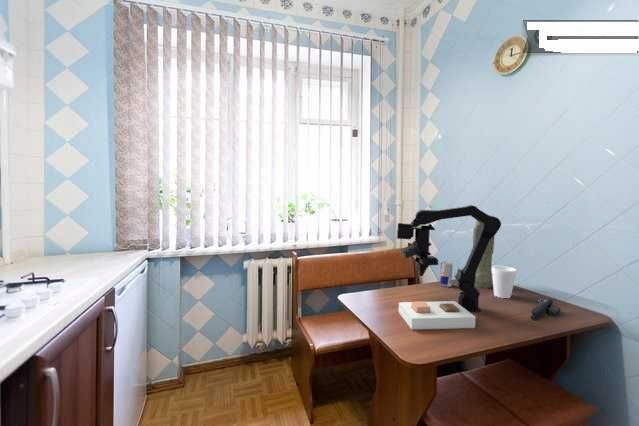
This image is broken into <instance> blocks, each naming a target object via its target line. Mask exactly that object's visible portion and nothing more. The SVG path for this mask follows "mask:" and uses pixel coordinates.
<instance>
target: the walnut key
mask: <svg viewBox="0 0 639 426" xmlns="http://www.w3.org/2000/svg"><path fill="white" fill-rule="evenodd" d="M440 308H441V309H442V310H444V311H445V312H459V308H457V307H456V306H455V305H454V304H440Z"/></svg>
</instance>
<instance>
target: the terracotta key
mask: <svg viewBox="0 0 639 426" xmlns="http://www.w3.org/2000/svg"><path fill="white" fill-rule="evenodd" d="M411 302H412V309H413V310H414V311H415V312H416V313H430V306H429V305H428V304H427V303H426V302H427V301H424V300H423V301H420V300H419V301H411Z"/></svg>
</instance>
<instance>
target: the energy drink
mask: <svg viewBox="0 0 639 426" xmlns="http://www.w3.org/2000/svg"><path fill="white" fill-rule="evenodd" d="M439 275H440V279H439V285H440V286H441V287H444V288H450V287H452V286H453V285H452V283H453V262H452V261H448V260H442V261H441V262H440V274H439Z"/></svg>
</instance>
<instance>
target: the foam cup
mask: <svg viewBox="0 0 639 426" xmlns="http://www.w3.org/2000/svg"><path fill="white" fill-rule="evenodd" d="M517 270H518V269H516V268H515V267H510V266H506V265H493V266H492V265H491V272H492V286H493V288H492V289H493V295H494V297H496V296H497V298H499V297H500V298H499V299H503V298H507V300H508V298H509V299H510V297H511V296H512V293H513V288H514V285H515V281H516V280H515V279H516V276H517Z"/></svg>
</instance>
